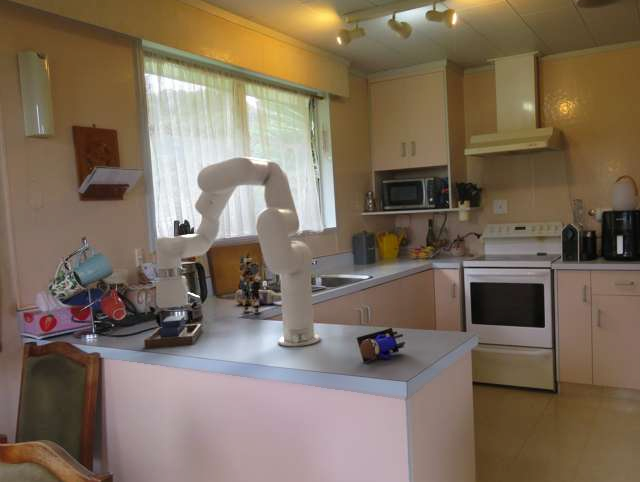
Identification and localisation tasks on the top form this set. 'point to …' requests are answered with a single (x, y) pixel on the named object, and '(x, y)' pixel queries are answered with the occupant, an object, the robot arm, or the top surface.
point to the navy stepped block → (173, 327)
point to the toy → (250, 284)
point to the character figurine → (379, 344)
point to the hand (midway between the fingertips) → (175, 323)
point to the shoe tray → (173, 338)
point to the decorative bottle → (260, 297)
